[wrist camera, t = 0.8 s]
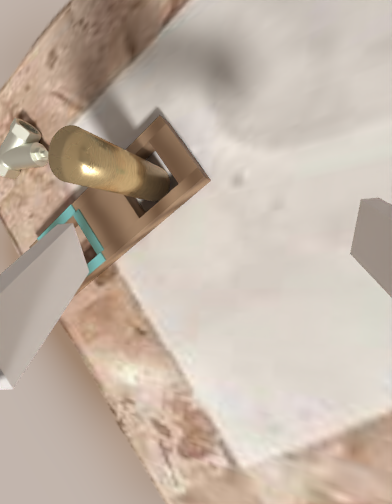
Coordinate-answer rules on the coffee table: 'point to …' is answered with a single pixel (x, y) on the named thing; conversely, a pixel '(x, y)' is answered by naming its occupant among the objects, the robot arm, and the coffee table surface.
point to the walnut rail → (133, 201)
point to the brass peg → (104, 166)
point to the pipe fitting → (21, 150)
